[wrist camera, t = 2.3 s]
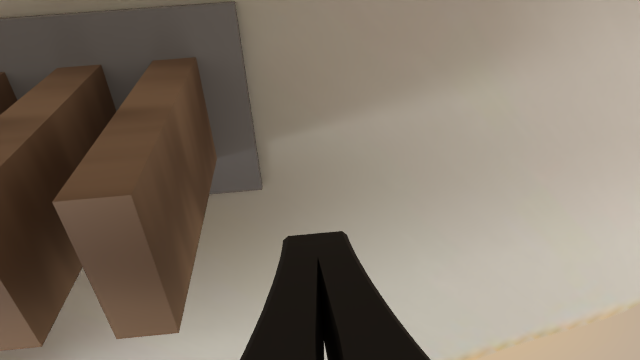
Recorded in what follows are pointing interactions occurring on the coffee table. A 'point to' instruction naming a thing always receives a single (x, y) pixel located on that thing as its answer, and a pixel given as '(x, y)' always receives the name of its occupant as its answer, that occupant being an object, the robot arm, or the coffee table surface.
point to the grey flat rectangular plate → (135, 57)
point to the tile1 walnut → (144, 200)
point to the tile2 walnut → (43, 196)
